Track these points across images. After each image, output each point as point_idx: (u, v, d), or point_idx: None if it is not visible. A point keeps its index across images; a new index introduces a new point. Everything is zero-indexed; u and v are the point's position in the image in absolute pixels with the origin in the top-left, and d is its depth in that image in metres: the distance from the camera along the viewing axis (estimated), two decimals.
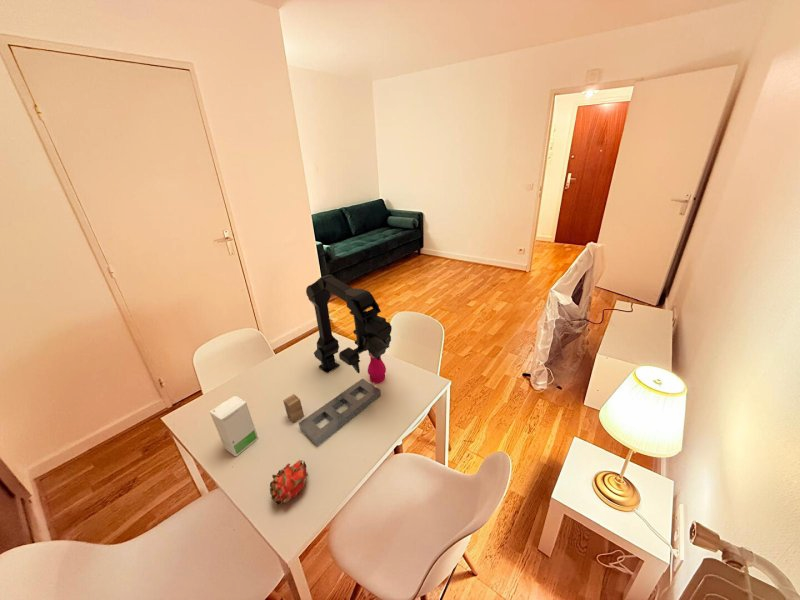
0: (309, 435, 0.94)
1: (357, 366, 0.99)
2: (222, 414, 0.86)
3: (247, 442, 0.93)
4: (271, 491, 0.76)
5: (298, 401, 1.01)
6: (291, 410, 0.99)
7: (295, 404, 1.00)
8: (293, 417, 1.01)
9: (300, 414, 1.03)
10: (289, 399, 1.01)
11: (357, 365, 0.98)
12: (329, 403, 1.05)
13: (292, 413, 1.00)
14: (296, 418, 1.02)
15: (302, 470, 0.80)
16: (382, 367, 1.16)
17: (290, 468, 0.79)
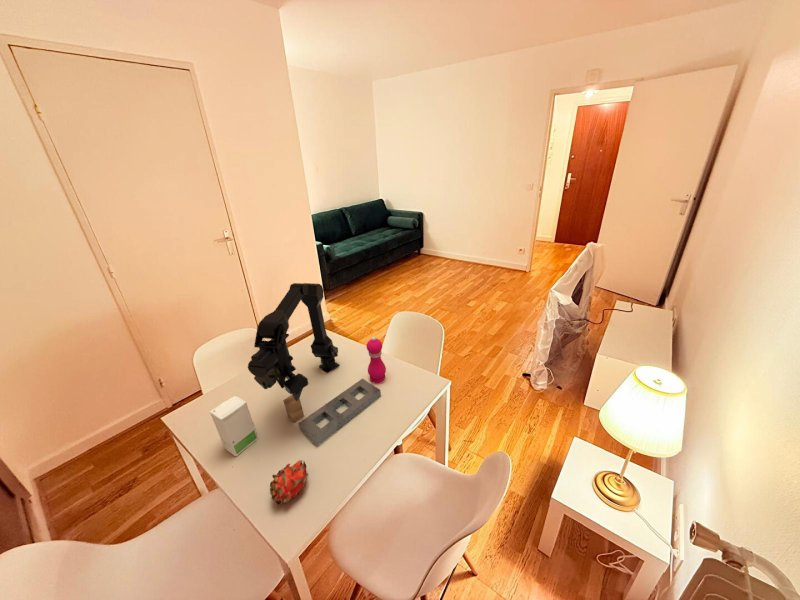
0: (309, 435, 0.94)
1: (276, 379, 1.00)
2: (222, 414, 0.86)
3: (247, 442, 0.93)
4: (271, 491, 0.76)
5: (298, 401, 1.01)
6: (291, 410, 0.99)
7: (295, 404, 1.00)
8: (293, 417, 1.01)
9: (300, 414, 1.03)
10: (289, 399, 1.01)
11: (275, 378, 1.00)
12: (329, 403, 1.05)
13: (292, 413, 1.00)
14: (296, 418, 1.02)
15: (302, 470, 0.80)
16: (382, 367, 1.16)
17: (290, 468, 0.79)
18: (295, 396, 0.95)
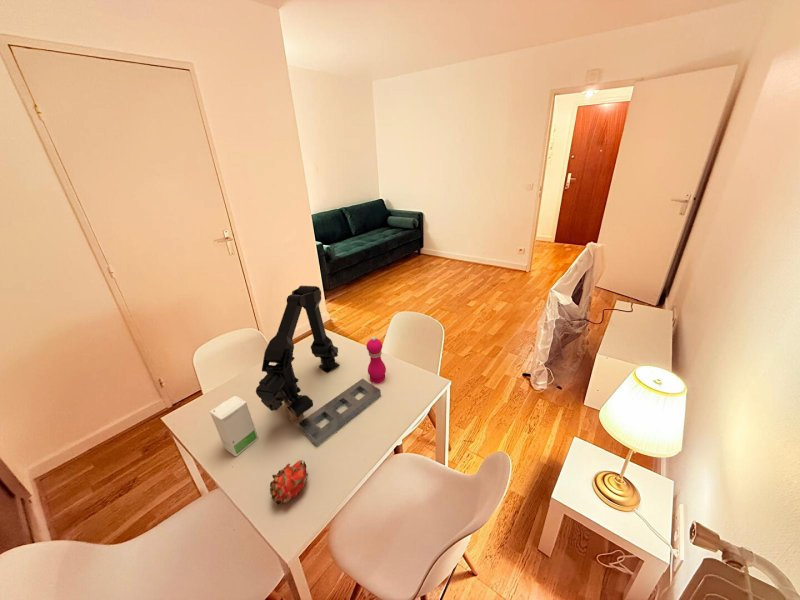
0: (309, 435, 0.94)
1: None
2: (222, 414, 0.86)
3: (247, 442, 0.93)
4: (271, 491, 0.76)
5: None
6: None
7: None
8: (293, 417, 1.01)
9: None
10: None
11: None
12: (329, 403, 1.05)
13: (292, 413, 1.00)
14: (296, 418, 1.02)
15: (302, 470, 0.80)
16: (382, 367, 1.16)
17: (290, 468, 0.79)
18: None
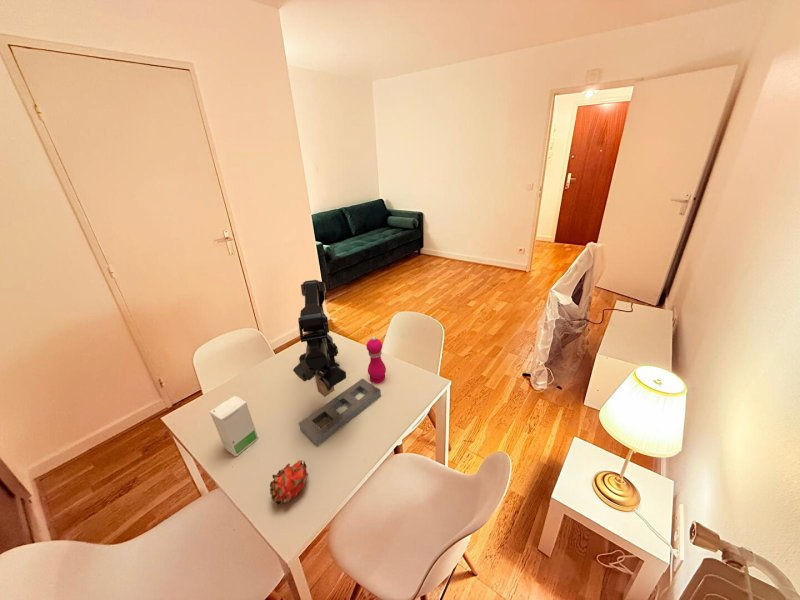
0: (309, 435, 0.94)
1: None
2: (222, 414, 0.86)
3: (247, 442, 0.93)
4: (271, 491, 0.76)
5: None
6: (322, 382, 0.95)
7: None
8: (324, 390, 0.97)
9: None
10: None
11: None
12: (329, 403, 1.05)
13: (323, 386, 0.96)
14: (327, 391, 0.98)
15: (302, 470, 0.80)
16: (382, 367, 1.16)
17: (290, 468, 0.79)
18: (328, 386, 0.96)
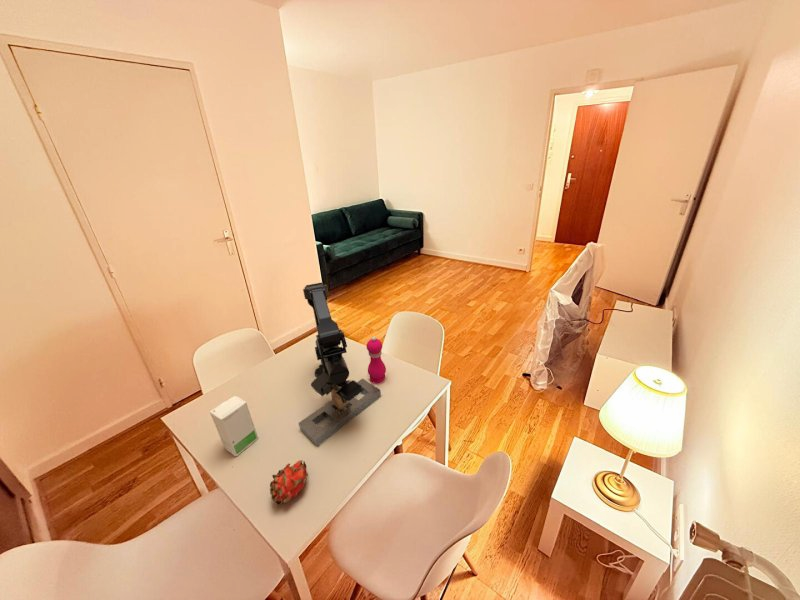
0: (309, 435, 0.94)
1: None
2: (222, 414, 0.86)
3: (247, 442, 0.93)
4: (271, 491, 0.76)
5: None
6: (338, 396, 0.99)
7: None
8: (340, 403, 1.00)
9: None
10: None
11: None
12: (329, 403, 1.05)
13: (339, 399, 0.99)
14: (342, 404, 1.01)
15: (302, 470, 0.80)
16: (382, 367, 1.16)
17: (290, 468, 0.79)
18: (343, 399, 0.99)
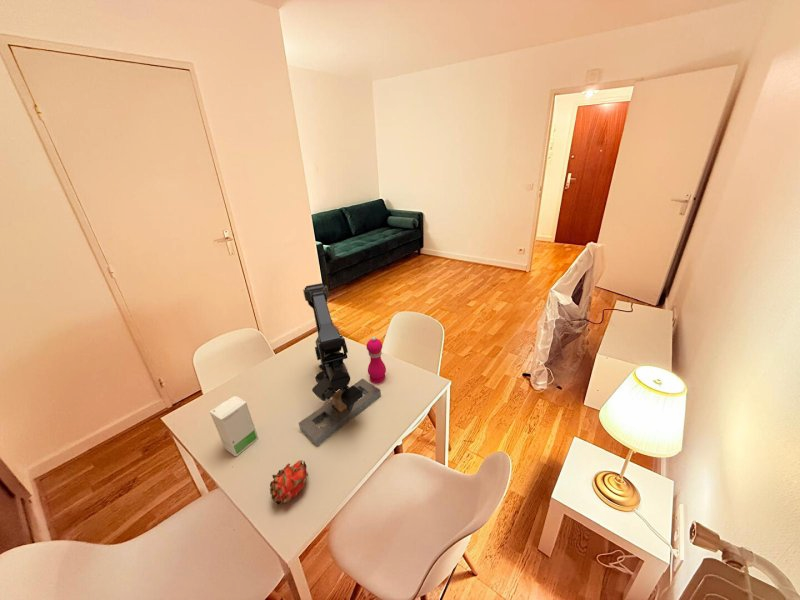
0: (309, 435, 0.94)
1: None
2: (222, 414, 0.86)
3: (247, 442, 0.93)
4: (271, 491, 0.76)
5: None
6: (340, 405, 1.00)
7: None
8: (341, 412, 1.02)
9: None
10: (337, 394, 1.02)
11: None
12: (329, 403, 1.05)
13: (341, 408, 1.01)
14: None
15: (302, 470, 0.80)
16: (382, 367, 1.16)
17: (290, 468, 0.79)
18: (349, 407, 0.99)
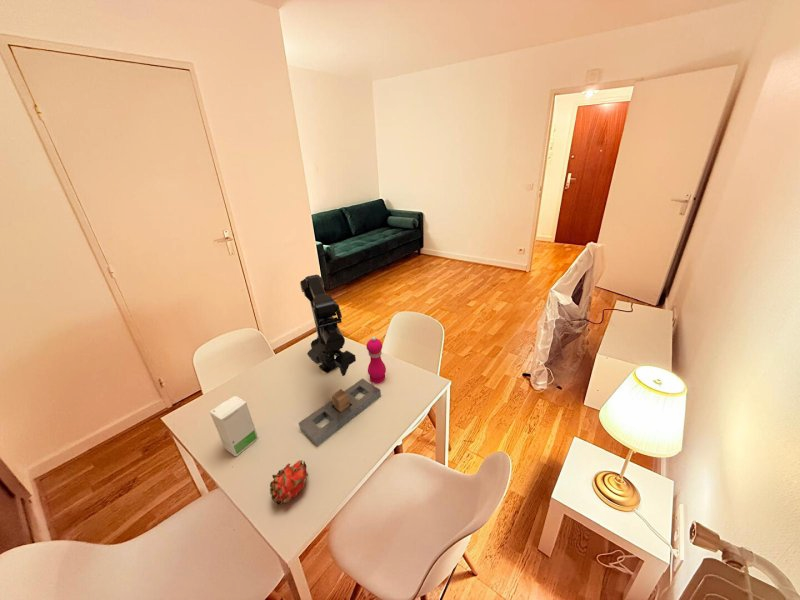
0: (309, 435, 0.94)
1: None
2: (222, 414, 0.86)
3: (247, 442, 0.93)
4: (271, 491, 0.76)
5: (346, 396, 1.02)
6: (340, 405, 1.00)
7: (344, 399, 1.01)
8: (341, 412, 1.02)
9: None
10: (337, 394, 1.02)
11: None
12: (329, 403, 1.05)
13: (341, 408, 1.01)
14: None
15: (302, 470, 0.80)
16: (382, 367, 1.16)
17: (290, 468, 0.79)
18: (342, 371, 1.03)
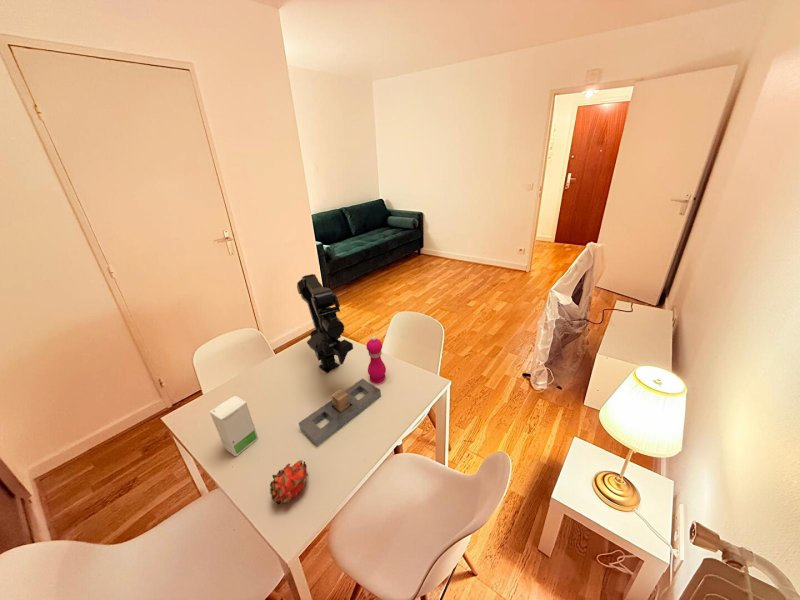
0: (309, 435, 0.94)
1: None
2: (222, 414, 0.86)
3: (247, 442, 0.93)
4: (271, 491, 0.76)
5: (346, 396, 1.02)
6: (340, 405, 1.00)
7: (344, 399, 1.01)
8: (341, 412, 1.02)
9: None
10: (337, 394, 1.02)
11: None
12: (329, 403, 1.05)
13: (341, 408, 1.01)
14: None
15: (302, 470, 0.80)
16: (382, 367, 1.16)
17: (290, 468, 0.79)
18: (341, 360, 1.08)
